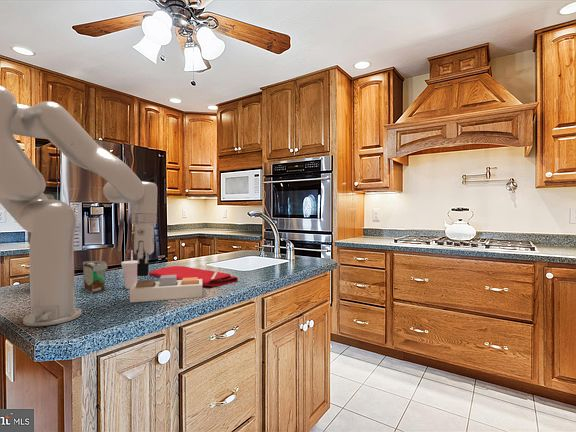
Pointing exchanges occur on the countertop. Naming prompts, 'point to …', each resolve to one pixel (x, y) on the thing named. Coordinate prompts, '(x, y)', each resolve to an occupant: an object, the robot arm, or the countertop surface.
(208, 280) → the red folded towel
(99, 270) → the food container
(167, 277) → the grey key
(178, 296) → the keypad
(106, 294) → the countertop surface
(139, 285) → the walnut key
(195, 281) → the orange key
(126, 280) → the smoothie
